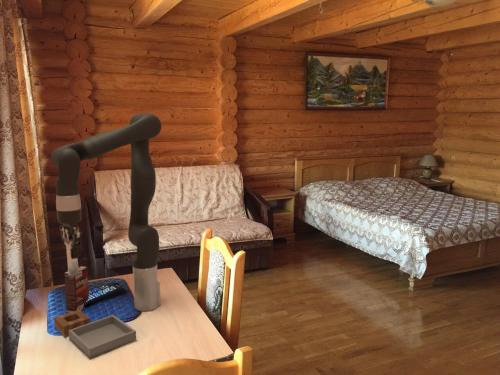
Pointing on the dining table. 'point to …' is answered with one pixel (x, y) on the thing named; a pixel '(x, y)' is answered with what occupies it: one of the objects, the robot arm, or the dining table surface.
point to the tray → (102, 336)
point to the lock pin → (71, 260)
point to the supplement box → (76, 289)
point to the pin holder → (70, 321)
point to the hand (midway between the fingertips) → (72, 256)
